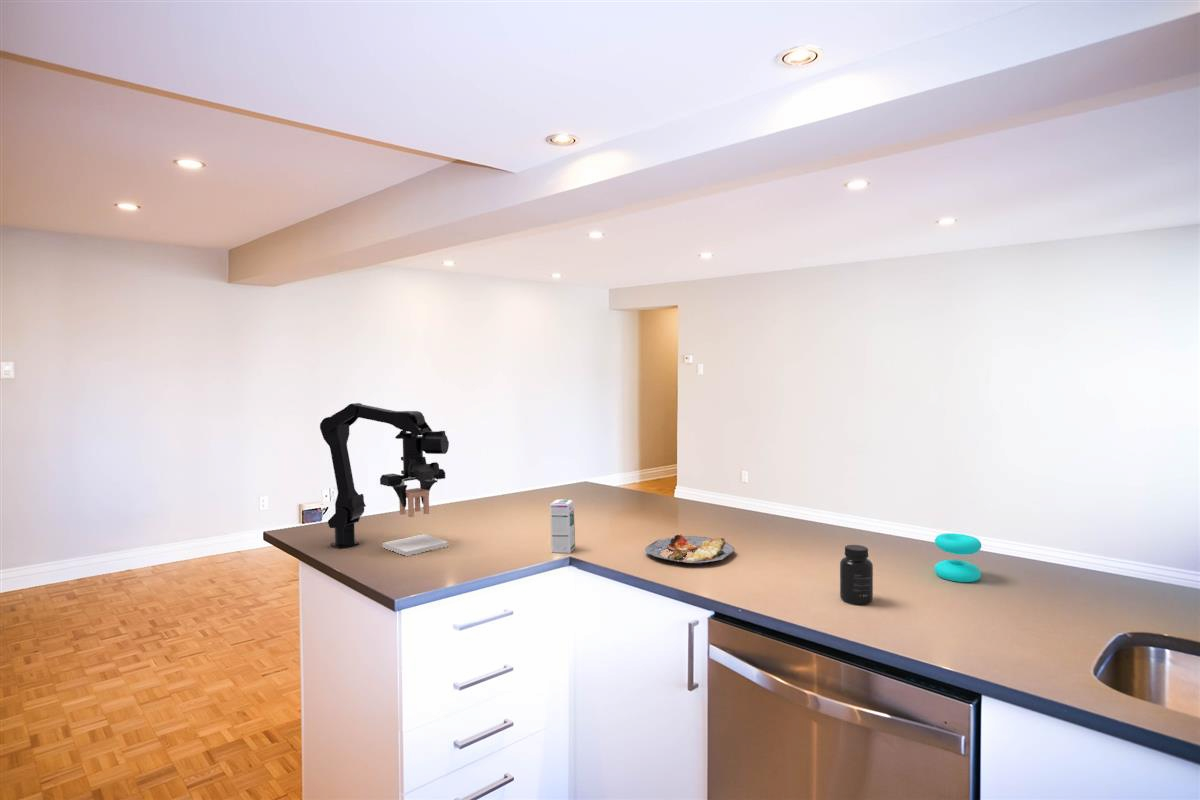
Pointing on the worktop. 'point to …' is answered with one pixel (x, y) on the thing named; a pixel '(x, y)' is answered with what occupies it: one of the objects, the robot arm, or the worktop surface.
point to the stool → (416, 501)
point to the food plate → (691, 549)
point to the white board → (415, 544)
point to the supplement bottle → (856, 576)
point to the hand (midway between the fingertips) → (414, 505)
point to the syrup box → (562, 526)
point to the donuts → (957, 568)
